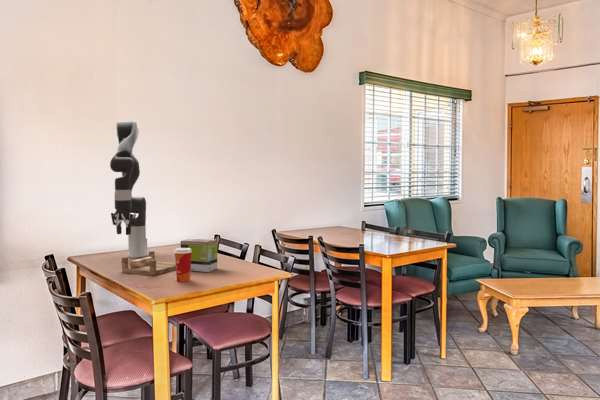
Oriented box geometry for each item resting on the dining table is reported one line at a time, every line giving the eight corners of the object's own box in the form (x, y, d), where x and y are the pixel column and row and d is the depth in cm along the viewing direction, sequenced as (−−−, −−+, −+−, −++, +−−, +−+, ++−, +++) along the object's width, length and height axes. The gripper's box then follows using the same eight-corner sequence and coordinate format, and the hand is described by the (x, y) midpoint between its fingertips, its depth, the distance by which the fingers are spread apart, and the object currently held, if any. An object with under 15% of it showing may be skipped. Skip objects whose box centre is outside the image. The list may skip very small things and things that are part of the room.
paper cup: (176, 278, 215) (175, 247, 214) (193, 278, 216) (193, 247, 215) (172, 282, 207) (172, 250, 206) (191, 282, 208) (190, 250, 207)
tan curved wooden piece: (152, 262, 242) (152, 254, 242) (156, 262, 241) (156, 255, 241) (130, 267, 228) (130, 259, 228) (134, 268, 227) (134, 260, 227)
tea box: (218, 268, 237) (217, 238, 236) (207, 272, 228) (207, 241, 227) (191, 266, 242) (191, 237, 241) (180, 270, 233) (179, 240, 232)
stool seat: (151, 264, 246) (151, 251, 246) (181, 267, 238) (181, 253, 238) (122, 272, 228) (121, 257, 228) (153, 276, 220) (152, 260, 220)
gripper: (140, 199, 231) (140, 234, 232) (117, 198, 237) (118, 232, 238) (128, 200, 224) (129, 236, 225) (105, 199, 230) (106, 234, 231)
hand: (123, 234), depth 232 cm, fingers open, 5 cm apart
